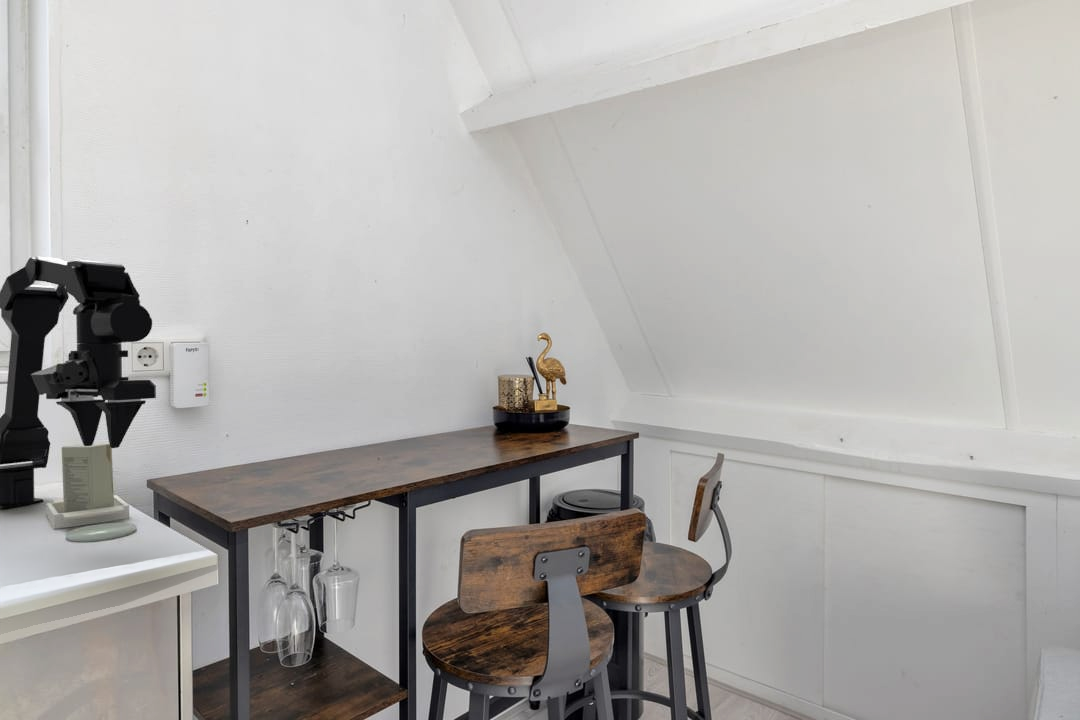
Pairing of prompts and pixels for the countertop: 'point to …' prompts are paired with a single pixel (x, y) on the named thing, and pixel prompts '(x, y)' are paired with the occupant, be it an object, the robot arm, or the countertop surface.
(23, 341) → the robot arm
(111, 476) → the skincare box
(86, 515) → the white rectangular tray
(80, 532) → the coaster
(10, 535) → the countertop surface
